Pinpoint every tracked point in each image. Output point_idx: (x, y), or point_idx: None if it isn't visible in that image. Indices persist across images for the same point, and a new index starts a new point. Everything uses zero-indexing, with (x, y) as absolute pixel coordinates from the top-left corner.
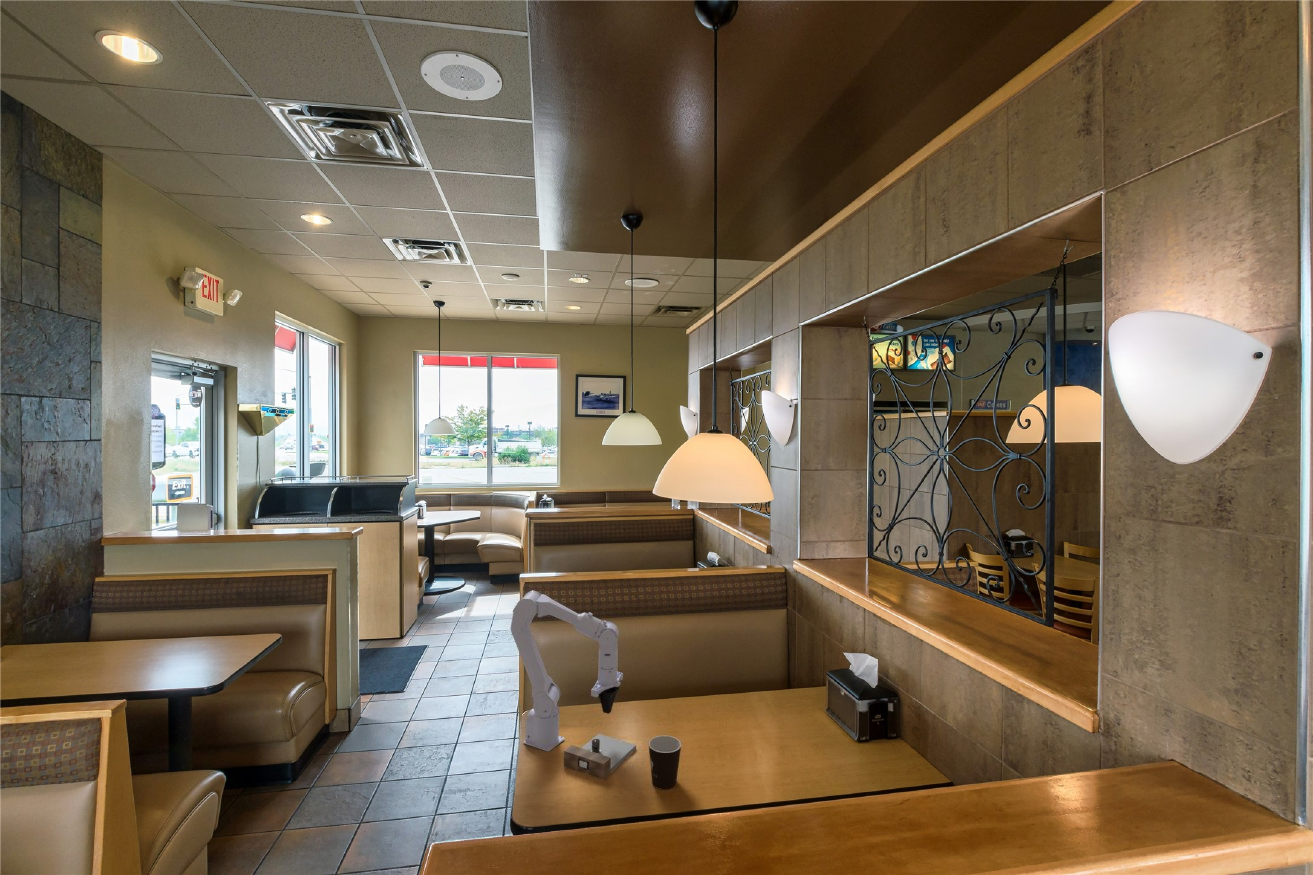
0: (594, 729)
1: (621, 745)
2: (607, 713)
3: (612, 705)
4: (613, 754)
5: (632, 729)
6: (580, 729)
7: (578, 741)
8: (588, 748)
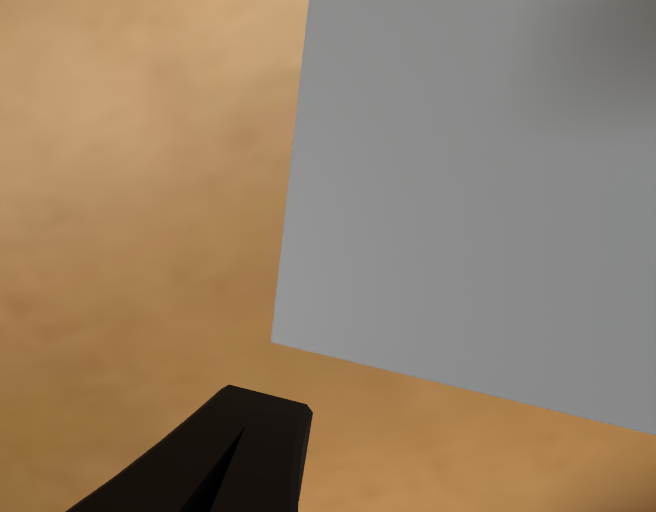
0: (178, 389)
1: (405, 30)
2: (310, 424)
3: (162, 453)
4: (648, 44)
5: (2, 68)
6: None
7: (404, 451)
8: (574, 351)
